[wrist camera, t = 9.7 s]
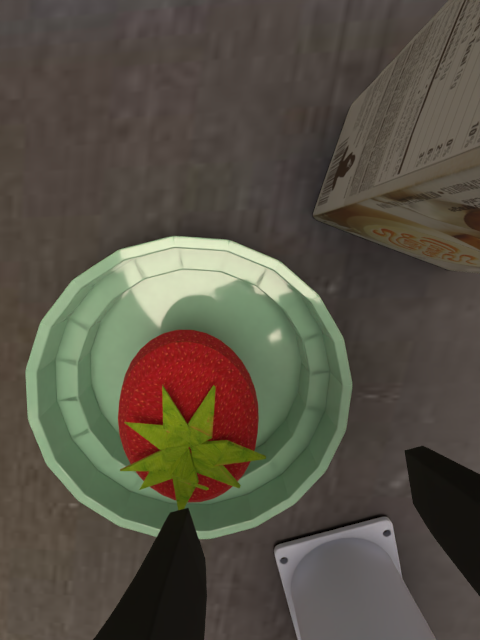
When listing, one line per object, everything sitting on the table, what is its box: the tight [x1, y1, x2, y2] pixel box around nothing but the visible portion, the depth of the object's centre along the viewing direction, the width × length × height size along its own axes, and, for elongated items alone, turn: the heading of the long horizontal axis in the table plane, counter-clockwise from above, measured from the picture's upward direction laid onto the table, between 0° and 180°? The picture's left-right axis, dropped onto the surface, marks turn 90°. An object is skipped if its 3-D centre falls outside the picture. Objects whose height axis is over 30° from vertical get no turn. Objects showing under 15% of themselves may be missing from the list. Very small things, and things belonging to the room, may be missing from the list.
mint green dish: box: [26, 236, 352, 539], centre depth 19 cm, size 15×15×4 cm
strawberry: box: [118, 330, 266, 510], centre depth 16 cm, size 6×8×10 cm
